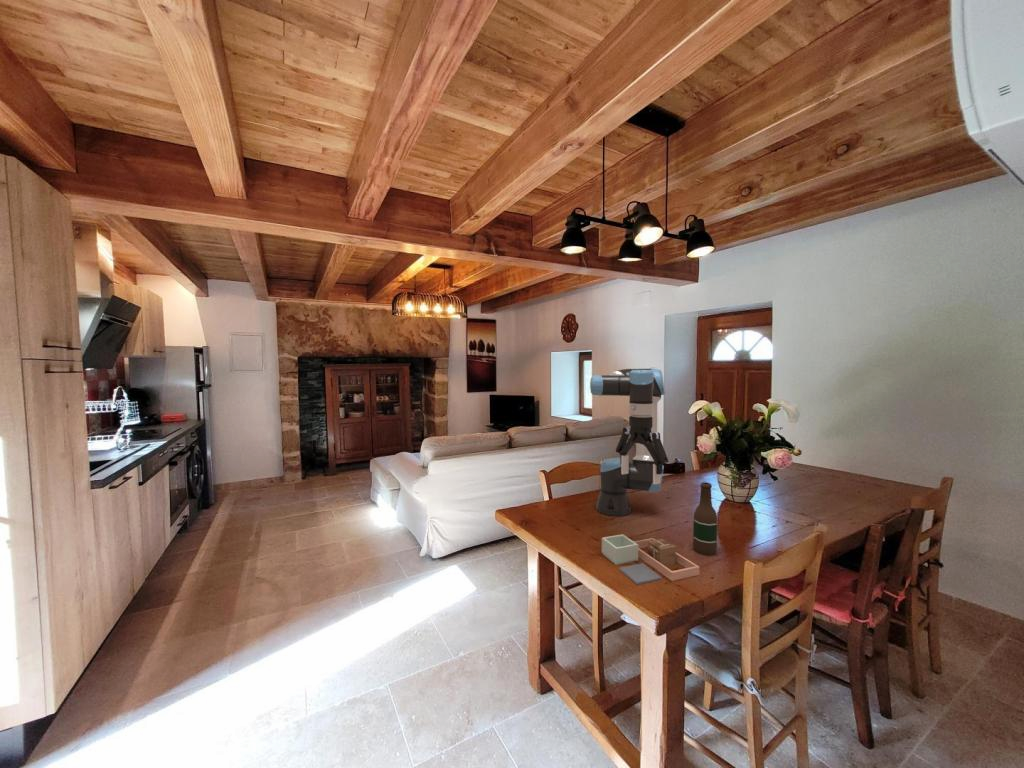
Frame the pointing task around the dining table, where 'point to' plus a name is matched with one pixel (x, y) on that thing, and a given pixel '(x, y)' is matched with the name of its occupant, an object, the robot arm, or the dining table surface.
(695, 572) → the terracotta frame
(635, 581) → the slate coaster
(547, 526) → the dining table surface
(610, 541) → the mint green open box
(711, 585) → the dining table surface
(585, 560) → the dining table surface
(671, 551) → the letter cube
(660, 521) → the dining table surface
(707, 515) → the beer bottle
